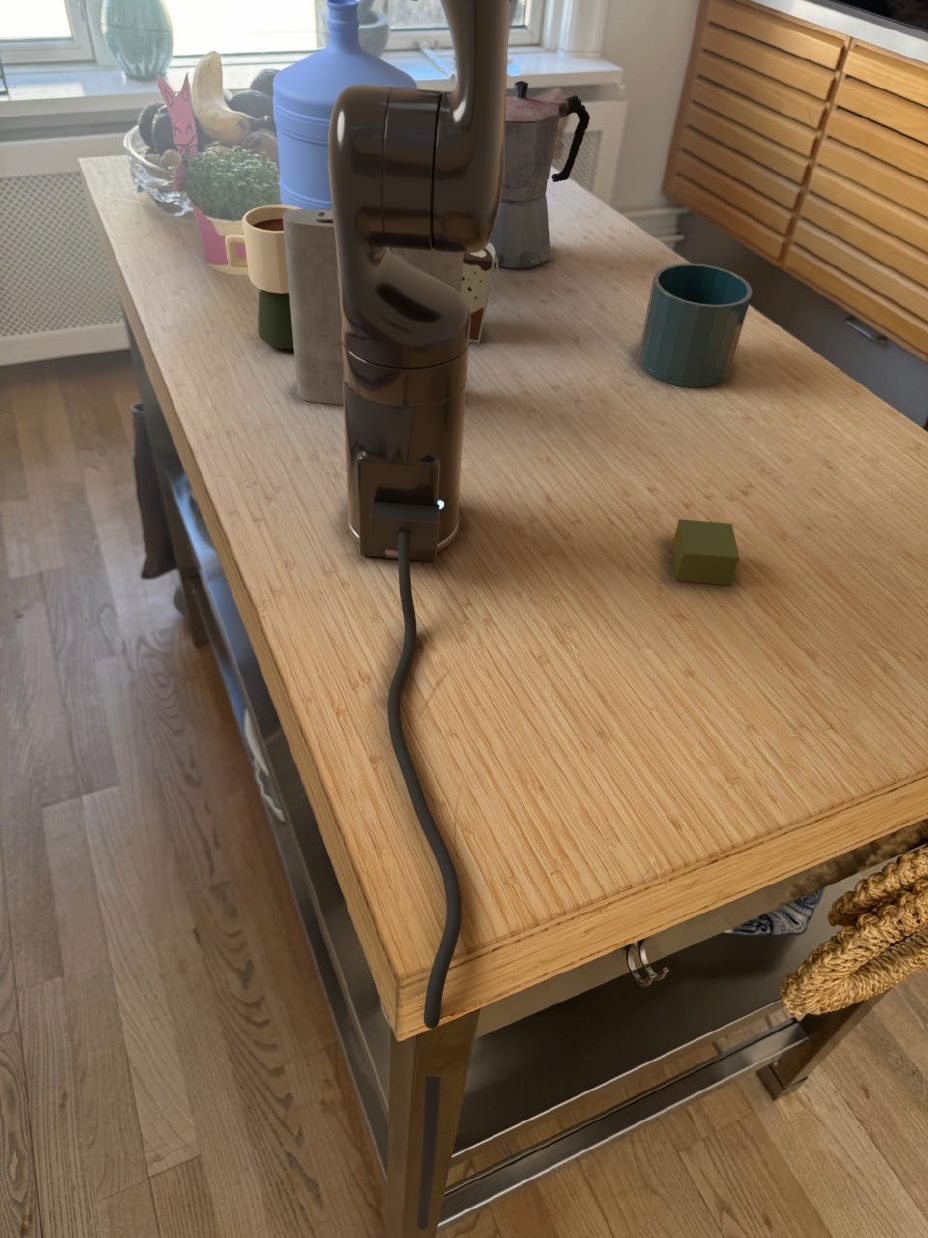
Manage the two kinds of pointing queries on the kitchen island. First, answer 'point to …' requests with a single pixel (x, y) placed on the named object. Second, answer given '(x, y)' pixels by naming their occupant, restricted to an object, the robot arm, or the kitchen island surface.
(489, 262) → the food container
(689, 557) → the olive green cube
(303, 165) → the water jug
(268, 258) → the character mug
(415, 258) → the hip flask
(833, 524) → the kitchen island surface
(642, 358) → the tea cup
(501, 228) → the moka pot
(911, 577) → the kitchen island surface
